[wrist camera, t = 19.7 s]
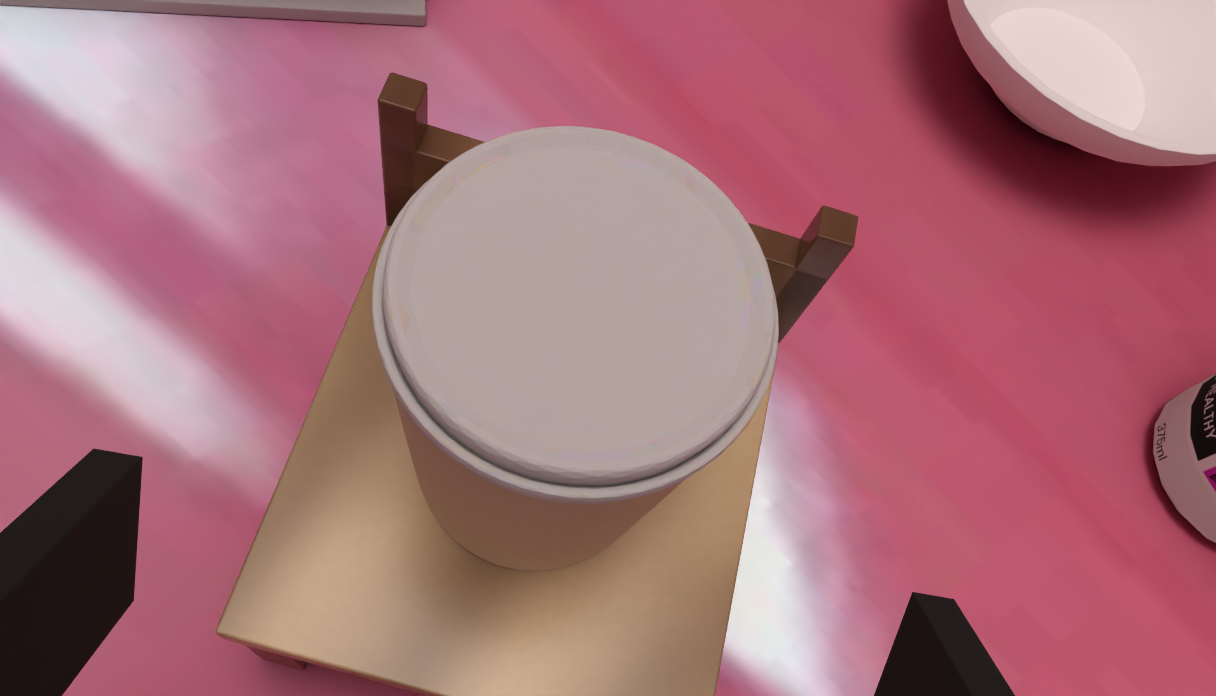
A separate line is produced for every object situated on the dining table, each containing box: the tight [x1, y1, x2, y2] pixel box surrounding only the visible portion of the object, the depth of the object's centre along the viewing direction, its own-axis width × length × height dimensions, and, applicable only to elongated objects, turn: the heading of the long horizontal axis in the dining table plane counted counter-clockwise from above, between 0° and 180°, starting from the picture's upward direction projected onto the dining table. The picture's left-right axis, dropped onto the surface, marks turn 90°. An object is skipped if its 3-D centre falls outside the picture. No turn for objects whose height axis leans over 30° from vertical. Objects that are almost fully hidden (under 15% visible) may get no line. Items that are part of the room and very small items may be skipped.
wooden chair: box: [216, 73, 858, 696], centre depth 32 cm, size 15×16×14 cm
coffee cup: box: [372, 126, 779, 571], centre depth 27 cm, size 9×9×12 cm
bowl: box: [947, 0, 1216, 166], centre depth 50 cm, size 20×20×7 cm
